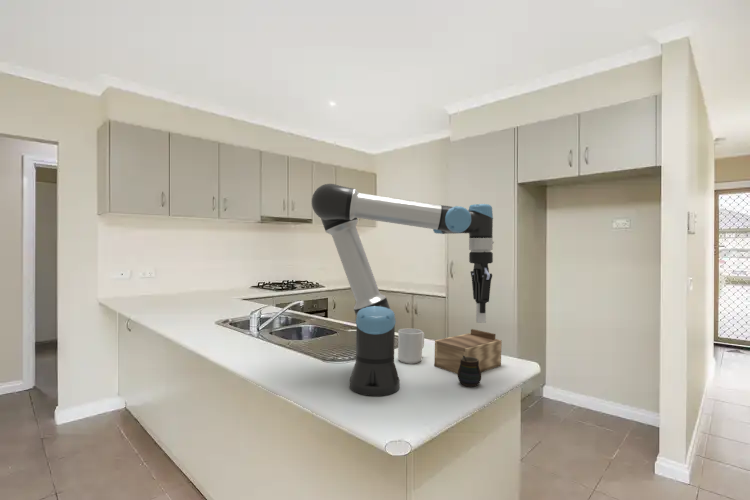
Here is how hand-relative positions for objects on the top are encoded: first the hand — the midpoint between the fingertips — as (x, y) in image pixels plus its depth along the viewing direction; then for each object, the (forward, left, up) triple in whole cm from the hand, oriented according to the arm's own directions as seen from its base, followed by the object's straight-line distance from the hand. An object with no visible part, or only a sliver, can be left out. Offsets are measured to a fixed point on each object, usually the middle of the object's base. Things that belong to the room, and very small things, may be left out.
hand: (481, 322), depth 131 cm
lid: (+5, +9, -10) cm, 14 cm away
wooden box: (+5, +9, -18) cm, 21 cm away
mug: (-6, +26, -18) cm, 32 cm away
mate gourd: (-10, -3, -18) cm, 21 cm away
